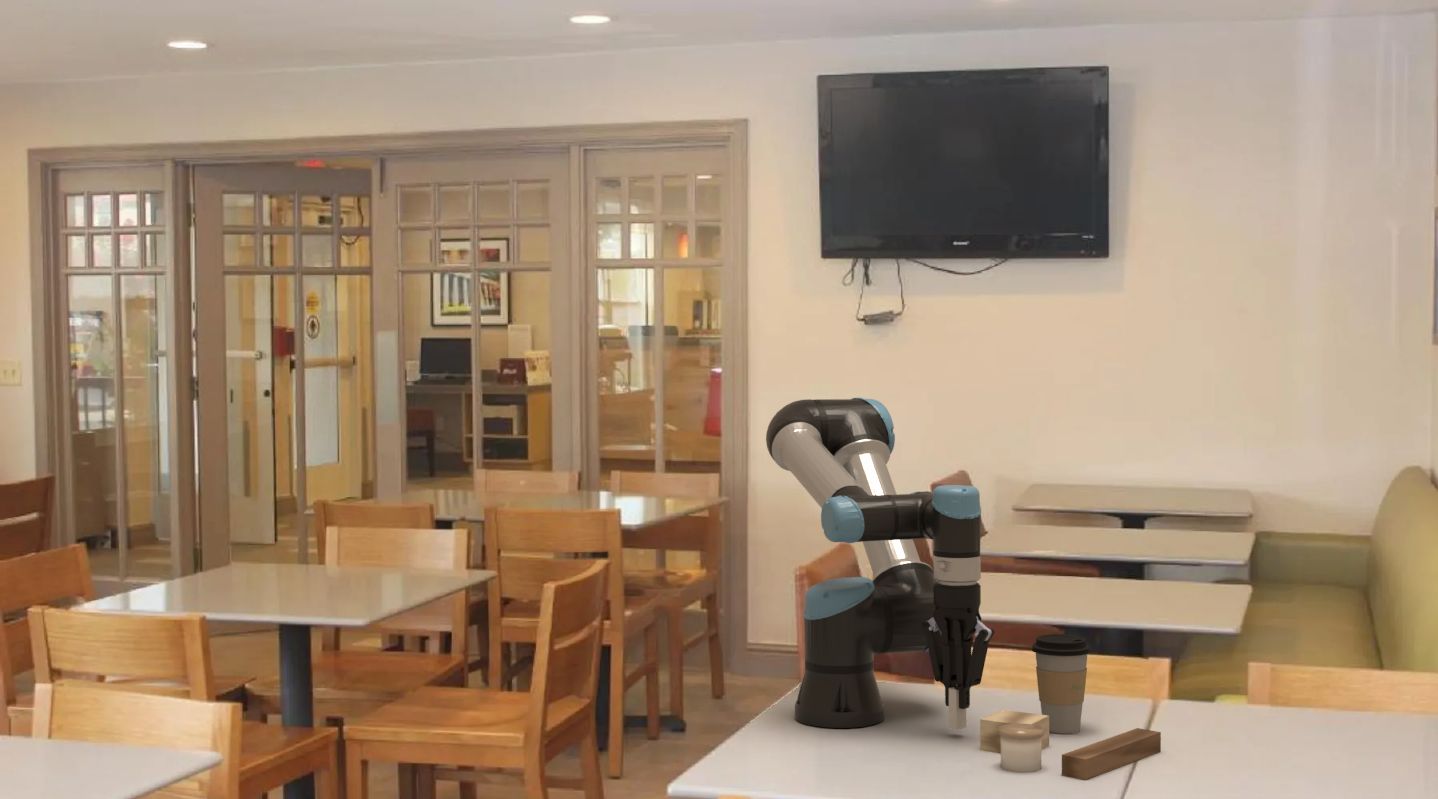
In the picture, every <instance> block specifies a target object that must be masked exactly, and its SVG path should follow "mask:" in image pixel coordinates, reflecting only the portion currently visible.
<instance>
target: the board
mask: <svg viewBox="0 0 1438 799" xmlns="http://www.w3.org/2000/svg"><path fill="white" fill-rule="evenodd" d="M1161 736H1162V733H1161V731H1157V730H1156V731H1155V730H1149V729H1146V728H1145V729H1144V728H1138V727H1137V728H1133V729H1131V730H1127V731H1125V732H1123V733H1119V734H1117V735H1114V736H1111V737H1108V738H1105V739H1103V740H1099V741H1096V742H1093V743H1092V744H1088V745H1086V746H1083V747H1080V748H1077V749H1074V750H1071V751H1069V752H1065V753H1063V754H1061V776H1065V777H1070V778H1074V779H1078V780H1084V781H1086V780H1089V779H1092V778H1094V777H1097V776H1100V775H1103V774H1105V773H1107V772H1110V771H1112V770H1115V769H1118V768H1121V767H1124V766H1126V765H1129V764H1131V763H1134V762H1136V761H1140V760H1142V759H1144V758H1147V757H1150V756H1153V755H1155V754H1158V753H1161V752H1162V747H1161V746H1162V743H1161V741H1162V740H1161V739H1162V737H1161Z"/></svg>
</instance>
